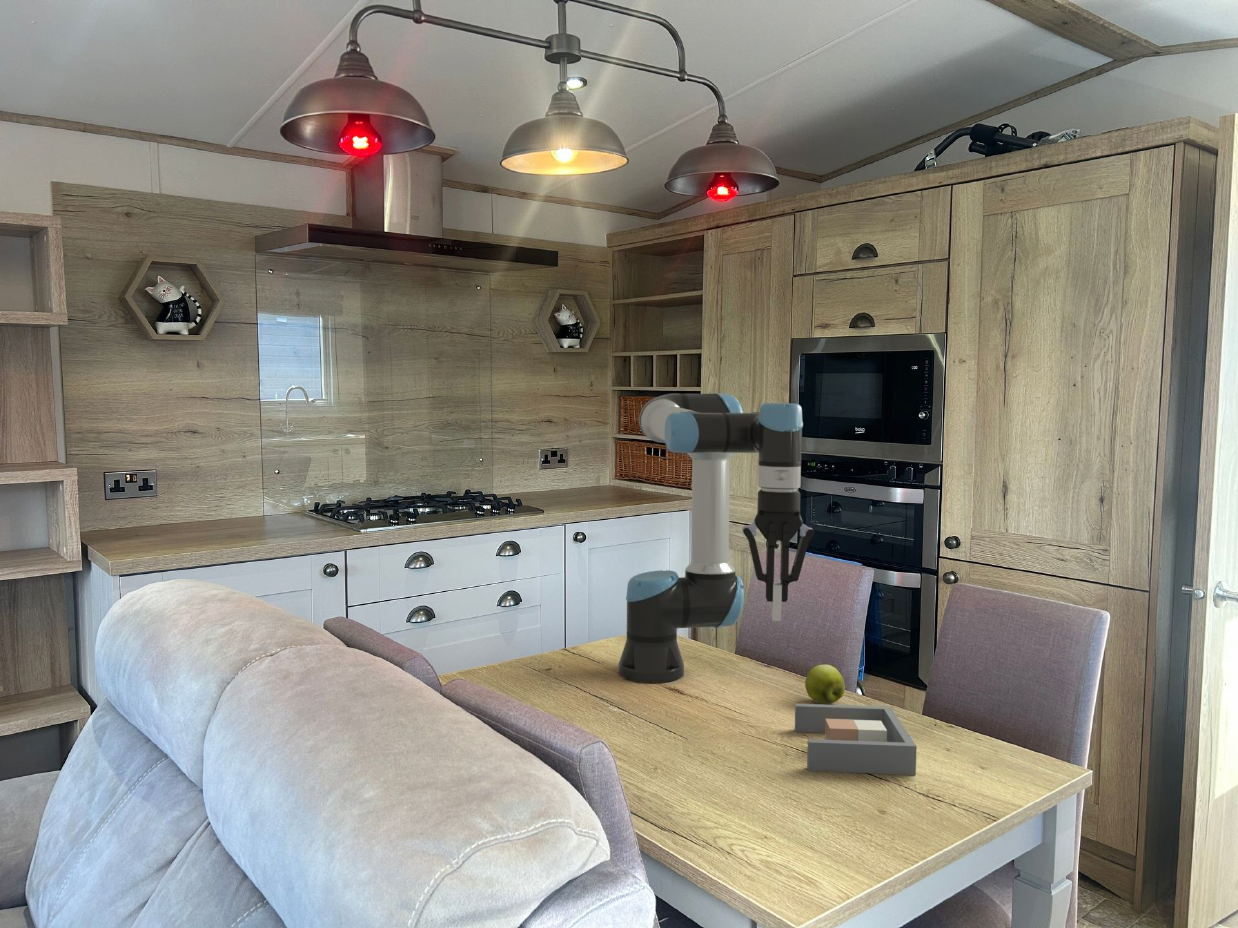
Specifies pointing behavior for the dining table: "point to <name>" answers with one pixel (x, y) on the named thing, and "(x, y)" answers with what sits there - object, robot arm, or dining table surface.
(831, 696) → the apple
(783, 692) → the dining table surface
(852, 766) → the box
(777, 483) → the robot arm
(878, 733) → the tile
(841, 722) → the tile
